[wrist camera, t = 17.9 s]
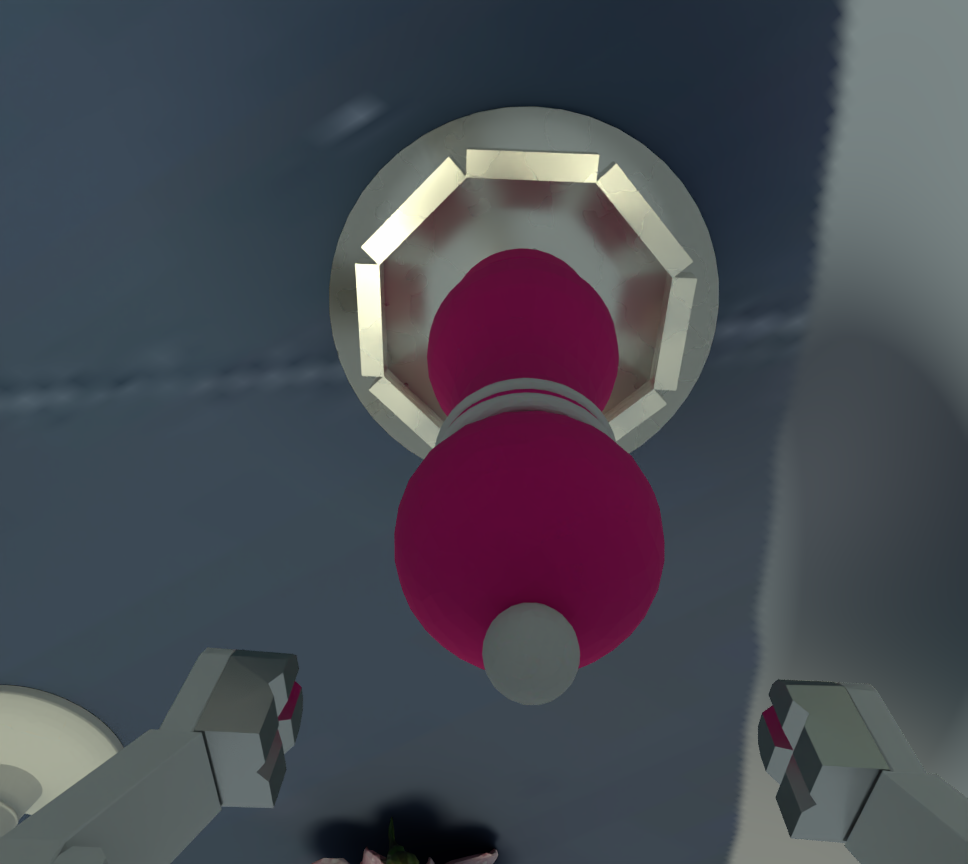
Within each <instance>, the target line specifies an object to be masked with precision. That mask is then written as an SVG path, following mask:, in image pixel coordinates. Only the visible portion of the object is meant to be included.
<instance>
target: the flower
mask: <svg viewBox="0 0 968 864" xmlns="http://www.w3.org/2000/svg"><path fill="white" fill-rule="evenodd" d="M388 837H389V851H388V854H387V857H384V856H382V855H380V854H378V853H376V852H375V851H373V850H369V849H368V847H366V848H365V849H364V854H363V860H362V862H361V863H360V864H419V861H418V859H417V858H416V856H415V855H414V854H412V853H409V852H406V851H405V850H404V847H403V846H401V845H398V844H397V843H396V842H395V835H394V826H393V818H392V817H391V820H390V824H389V832H388ZM408 851H409V850H408ZM497 857H498V852H497V850H495V849H493V850H492V851H491V852H489V853H482V854H476V855H471V856H467V857H463V858H459V859H455V860H452V861H450V862H447V863H445V864H493V863H494V862H495V861H496V859H497ZM312 864H350V863H349V862H347V861H346V860H345V859H344V858H337V859H334V858H322V859H320V860H318V861H316V862H314V863H312ZM426 864H435V863H434V862H433V860H432V859H431V857H429V859H428V862H427V863H426Z"/></svg>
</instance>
